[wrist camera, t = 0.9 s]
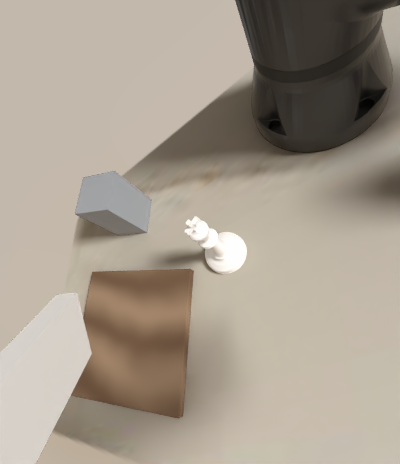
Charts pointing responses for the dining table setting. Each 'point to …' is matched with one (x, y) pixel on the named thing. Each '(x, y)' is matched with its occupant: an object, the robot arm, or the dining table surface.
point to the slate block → (113, 204)
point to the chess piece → (218, 246)
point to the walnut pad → (138, 339)
